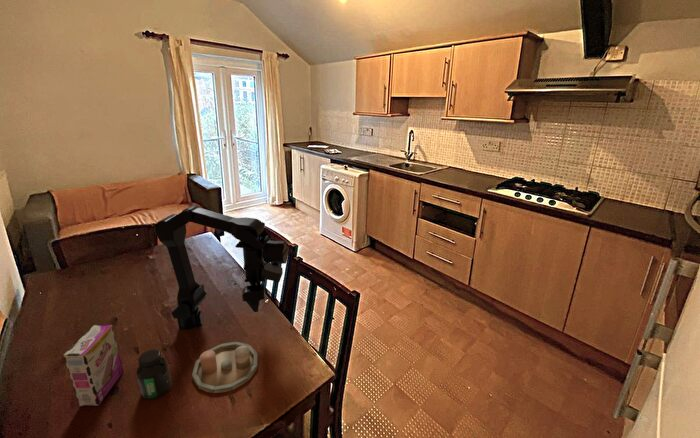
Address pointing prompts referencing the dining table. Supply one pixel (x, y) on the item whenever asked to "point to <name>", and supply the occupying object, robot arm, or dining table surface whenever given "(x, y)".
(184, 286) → the robot arm
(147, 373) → the supplement bottle
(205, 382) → the ring dish
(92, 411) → the dining table surface
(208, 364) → the terracotta bead
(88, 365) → the candy bar box
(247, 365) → the maple bead
